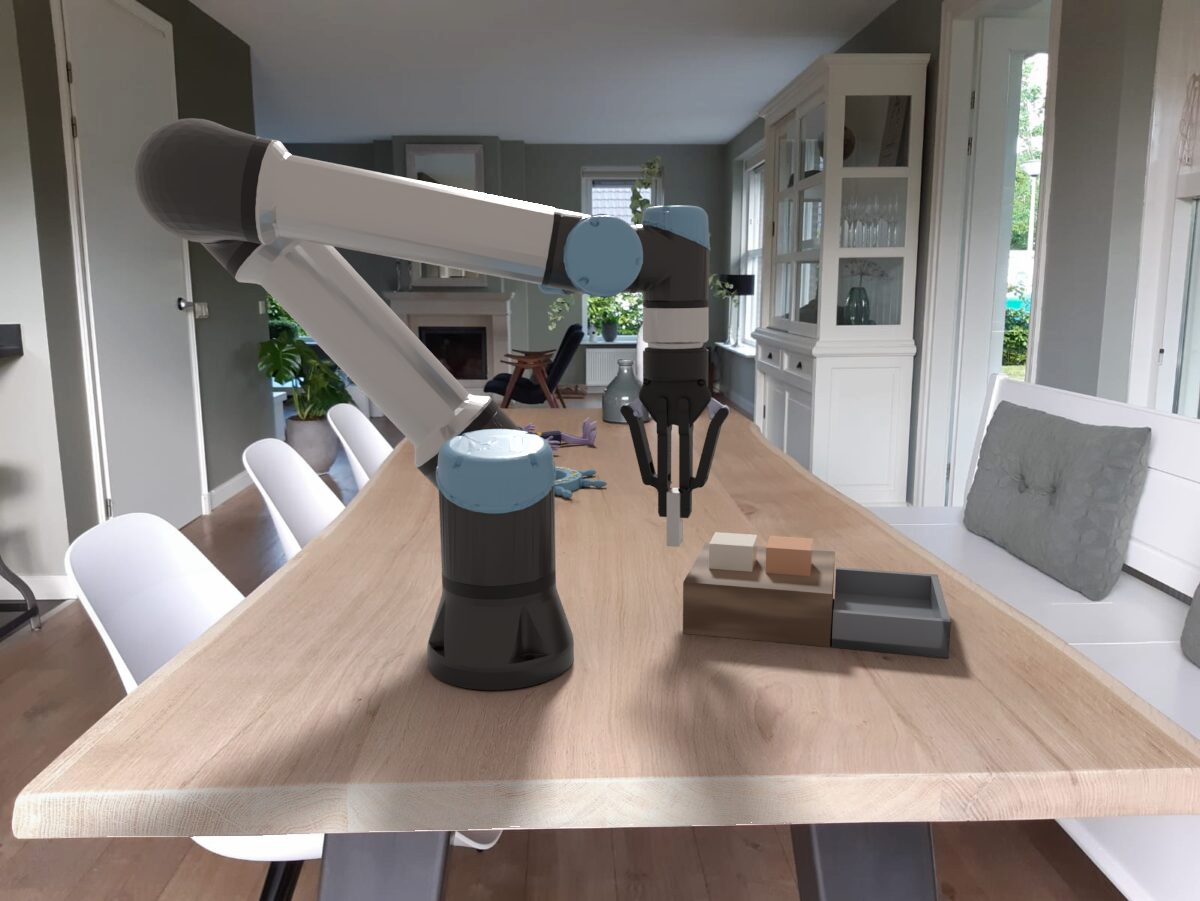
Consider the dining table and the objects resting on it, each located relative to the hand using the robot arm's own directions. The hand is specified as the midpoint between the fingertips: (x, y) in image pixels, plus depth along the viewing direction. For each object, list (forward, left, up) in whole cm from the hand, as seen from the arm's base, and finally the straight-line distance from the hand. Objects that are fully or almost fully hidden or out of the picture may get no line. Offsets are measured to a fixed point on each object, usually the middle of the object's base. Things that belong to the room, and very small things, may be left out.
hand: (674, 543), depth 110 cm
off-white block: (0, -7, -2) cm, 7 cm away
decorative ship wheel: (+60, +40, -9) cm, 72 cm away
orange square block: (0, -13, -2) cm, 14 cm away
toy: (+100, +54, -9) cm, 114 cm away
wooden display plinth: (0, -10, -8) cm, 13 cm away
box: (0, -25, -8) cm, 26 cm away
